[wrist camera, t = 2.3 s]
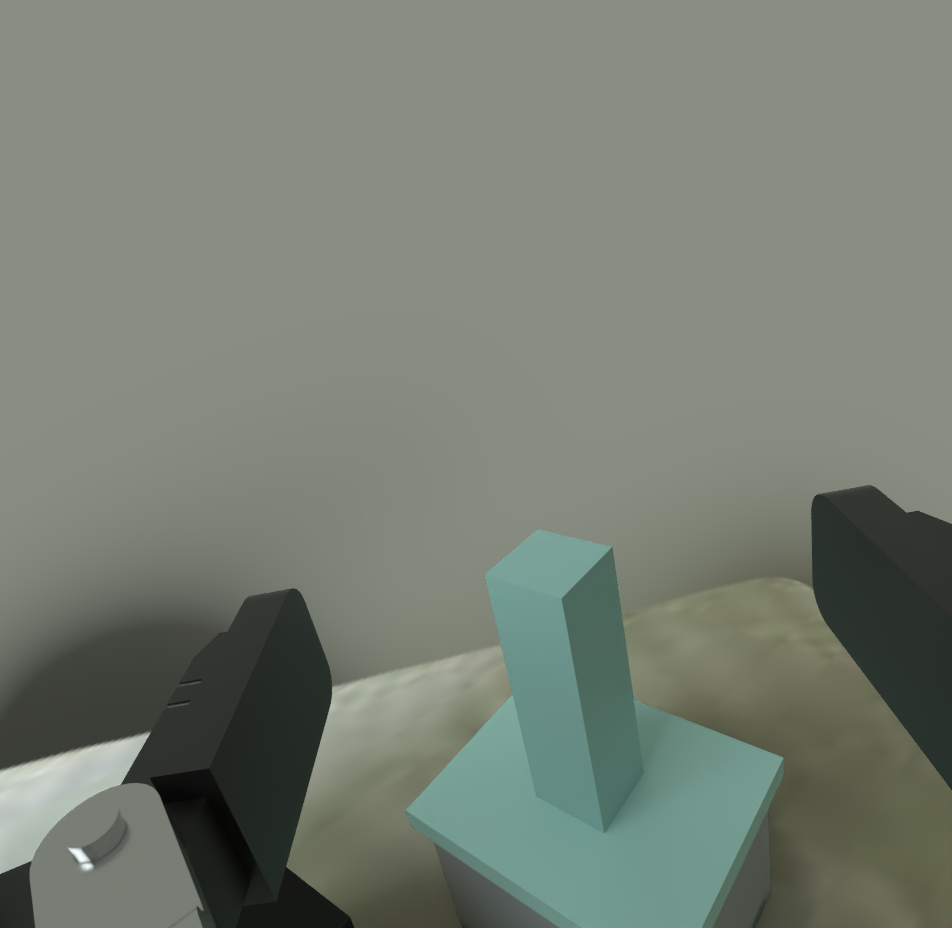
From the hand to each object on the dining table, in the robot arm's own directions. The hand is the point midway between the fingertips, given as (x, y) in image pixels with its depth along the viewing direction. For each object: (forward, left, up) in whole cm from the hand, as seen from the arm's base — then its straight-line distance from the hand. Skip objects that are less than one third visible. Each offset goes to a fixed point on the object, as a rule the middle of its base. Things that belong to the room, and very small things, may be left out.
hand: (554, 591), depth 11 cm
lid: (-7, +9, -19) cm, 22 cm away
